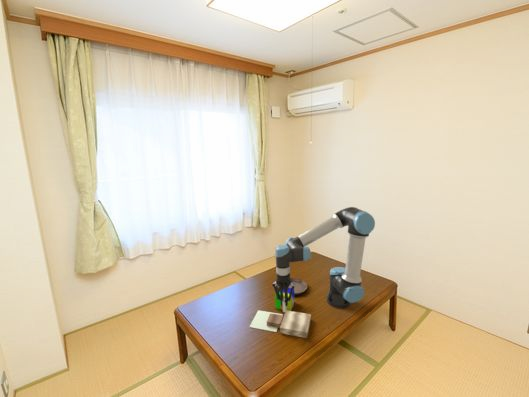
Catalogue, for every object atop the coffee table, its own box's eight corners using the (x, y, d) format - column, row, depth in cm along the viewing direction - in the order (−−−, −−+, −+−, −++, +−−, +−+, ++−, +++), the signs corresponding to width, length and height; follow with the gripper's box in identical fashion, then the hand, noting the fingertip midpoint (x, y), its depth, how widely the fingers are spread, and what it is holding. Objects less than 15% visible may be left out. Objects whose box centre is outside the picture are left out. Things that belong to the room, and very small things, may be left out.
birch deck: (310, 319, 158) (310, 314, 157) (307, 338, 143) (307, 332, 142) (286, 315, 162) (286, 310, 161) (279, 333, 147) (279, 327, 146)
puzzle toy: (294, 302, 175) (294, 288, 173) (290, 311, 166) (290, 296, 164) (279, 299, 179) (279, 286, 177) (275, 308, 169) (275, 294, 167)
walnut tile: (283, 319, 158) (283, 315, 158) (280, 327, 151) (280, 324, 150) (270, 317, 160) (270, 313, 160) (266, 325, 153) (266, 321, 152)
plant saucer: (303, 299, 178) (303, 295, 178) (274, 294, 186) (274, 289, 185) (310, 284, 197) (310, 280, 197) (283, 280, 205) (283, 276, 204)
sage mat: (283, 314, 163) (282, 314, 163) (276, 332, 148) (276, 331, 148) (258, 310, 167) (258, 310, 167) (249, 327, 152) (249, 326, 152)
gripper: (295, 270, 150) (297, 308, 154) (273, 268, 153) (275, 305, 158) (293, 277, 143) (294, 316, 147) (270, 274, 146) (271, 312, 151)
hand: (284, 310), depth 153 cm, fingers closed
